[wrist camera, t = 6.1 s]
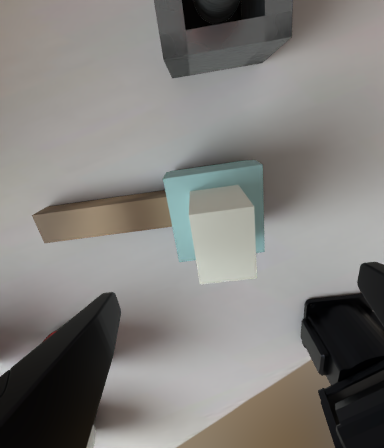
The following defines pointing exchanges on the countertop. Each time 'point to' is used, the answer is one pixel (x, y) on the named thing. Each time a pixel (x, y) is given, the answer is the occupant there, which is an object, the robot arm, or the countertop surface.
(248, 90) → the countertop surface
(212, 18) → the red and grey cylinder
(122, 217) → the rail
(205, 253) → the carriage
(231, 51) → the dark grey box
